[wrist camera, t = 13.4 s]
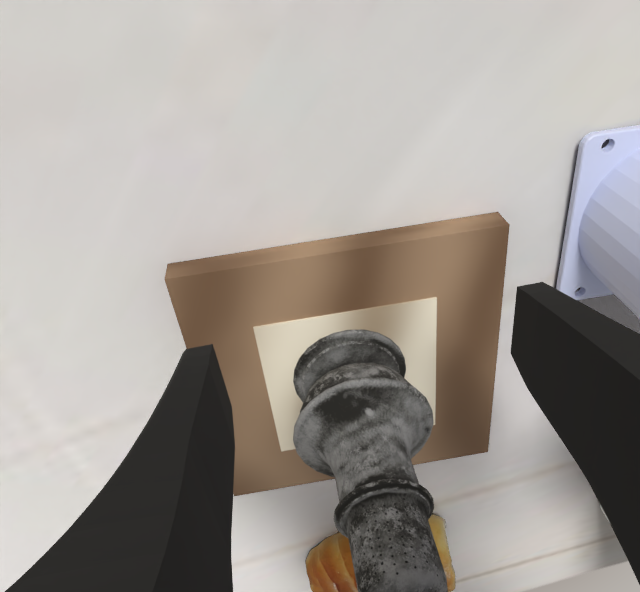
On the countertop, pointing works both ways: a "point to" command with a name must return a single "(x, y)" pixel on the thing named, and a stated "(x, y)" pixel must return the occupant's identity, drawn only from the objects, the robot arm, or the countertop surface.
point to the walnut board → (350, 314)
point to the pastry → (337, 567)
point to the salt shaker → (370, 456)
